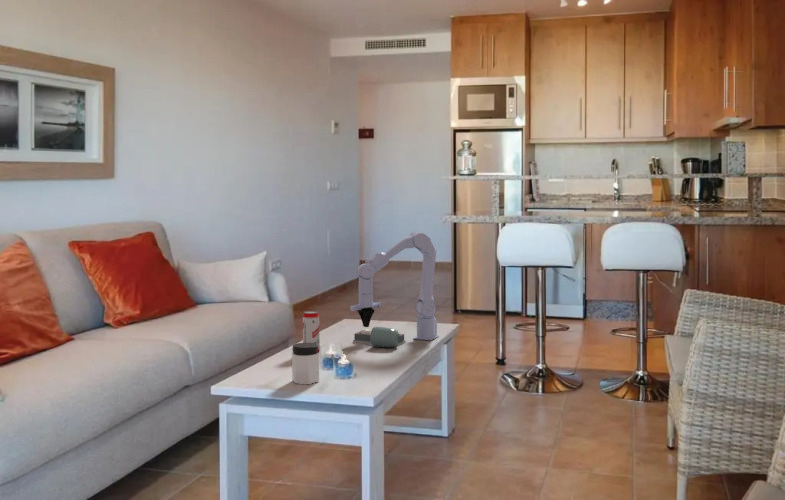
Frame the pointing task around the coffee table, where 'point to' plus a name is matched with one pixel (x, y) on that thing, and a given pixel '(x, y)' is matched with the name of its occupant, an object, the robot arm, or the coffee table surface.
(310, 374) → the jar
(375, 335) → the cup
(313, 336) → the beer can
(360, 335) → the gray compartment tray
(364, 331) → the white egg
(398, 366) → the coffee table surface
